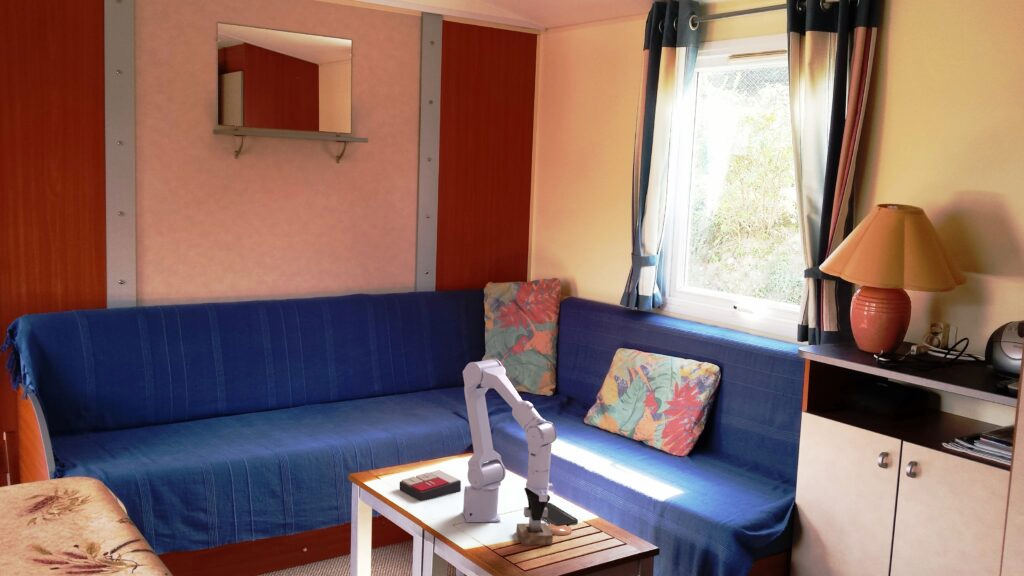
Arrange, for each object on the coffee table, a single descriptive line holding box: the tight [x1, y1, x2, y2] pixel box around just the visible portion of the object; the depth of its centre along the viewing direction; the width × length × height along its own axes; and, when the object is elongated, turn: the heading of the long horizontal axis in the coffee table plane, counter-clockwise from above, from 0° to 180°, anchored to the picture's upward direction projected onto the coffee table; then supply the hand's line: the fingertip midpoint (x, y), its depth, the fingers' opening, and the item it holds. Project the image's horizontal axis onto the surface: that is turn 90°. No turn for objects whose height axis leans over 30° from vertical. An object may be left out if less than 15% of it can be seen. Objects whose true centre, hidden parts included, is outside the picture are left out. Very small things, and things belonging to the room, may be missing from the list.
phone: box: [541, 502, 579, 526], centre depth 253 cm, size 8×1×15 cm
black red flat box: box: [399, 469, 462, 502], centre depth 266 cm, size 11×4×15 cm
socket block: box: [516, 522, 554, 546], centre depth 236 cm, size 8×8×2 cm
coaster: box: [547, 523, 573, 536], centre depth 243 cm, size 7×7×1 cm
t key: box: [523, 506, 548, 532], centre depth 236 cm, size 6×3×6 cm, turn 101°
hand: (535, 517), depth 236 cm, fingers closed on t key, 3 cm apart
